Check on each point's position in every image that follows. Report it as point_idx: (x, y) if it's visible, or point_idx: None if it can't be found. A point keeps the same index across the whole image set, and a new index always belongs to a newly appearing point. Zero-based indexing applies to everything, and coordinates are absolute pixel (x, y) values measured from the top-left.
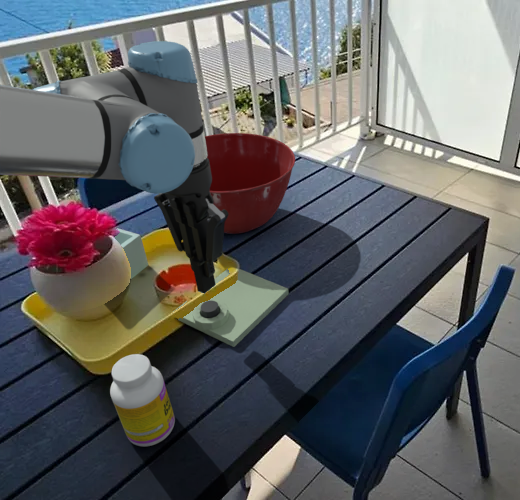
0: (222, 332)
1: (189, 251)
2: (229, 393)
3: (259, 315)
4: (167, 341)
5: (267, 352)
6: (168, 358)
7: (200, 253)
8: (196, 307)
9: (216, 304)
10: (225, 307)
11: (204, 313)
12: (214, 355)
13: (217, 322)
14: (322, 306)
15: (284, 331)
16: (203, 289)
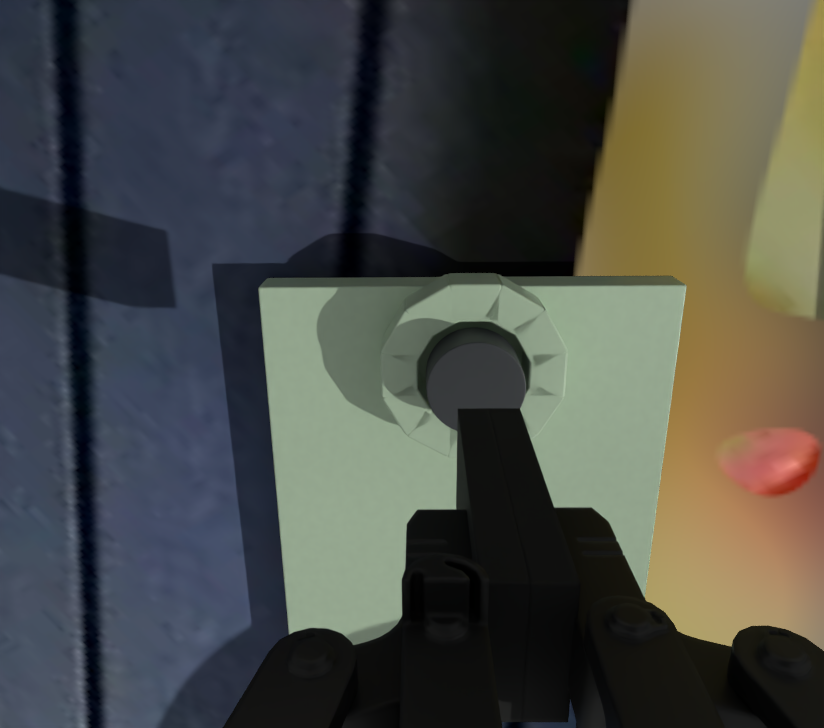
0: (349, 308)
1: (618, 671)
2: (66, 33)
3: (279, 483)
4: (585, 132)
5: (118, 332)
6: (495, 41)
7: (431, 704)
8: (560, 359)
9: (449, 418)
10: (422, 434)
11: (470, 337)
12: (309, 187)
13: (387, 334)
14: (127, 651)
15: (151, 467)
16: (461, 425)
